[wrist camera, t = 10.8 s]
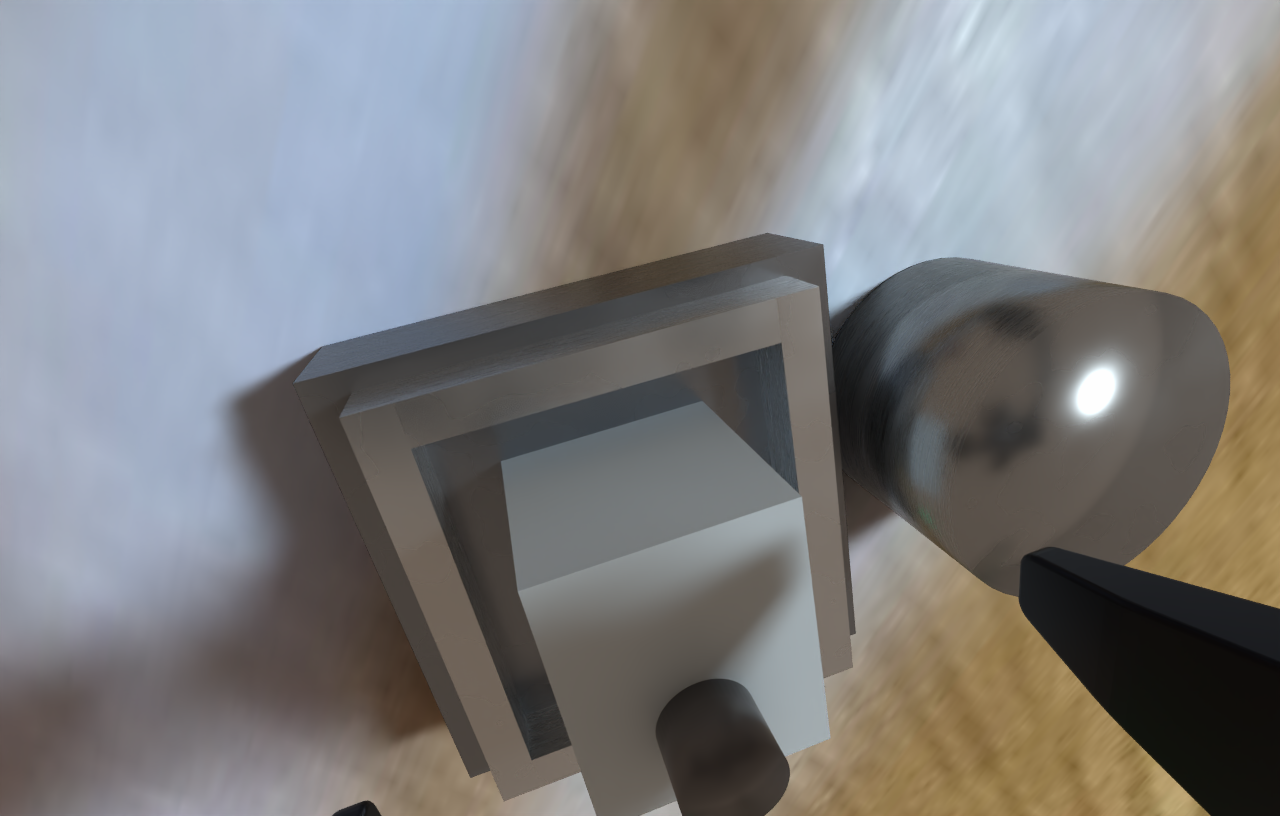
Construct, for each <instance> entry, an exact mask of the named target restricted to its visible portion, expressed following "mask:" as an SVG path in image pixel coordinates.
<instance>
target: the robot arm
mask: <svg viewBox="0 0 1280 816" xmlns="http://www.w3.org/2000/svg"><path fill="white" fill-rule="evenodd" d="M1019 604H1020V607H1021V609H1022V611H1023V613H1024V615H1025V616H1026V618H1027V619H1028V620H1029V621H1030V623H1031V624H1032V625H1033V626H1034V627H1035V629H1036V630H1037V631H1038V632H1039V633H1040V634H1041V636H1042V637H1043V638H1044V639H1045V640H1046V641H1047V643H1048V644H1049V645H1050V646H1051V647H1052V649H1053V650H1054V651H1055V652H1056V653H1057V654H1058V656H1059V657H1060V658H1061V659H1062V660H1063V661H1064V663H1065V664H1066V665H1067V666H1068V667H1069V669H1070V670H1071V671H1072V672H1073V673H1074V674H1075V676H1076V677H1077V678H1078V679H1079V680H1080V681H1081V683H1082V684H1083V685H1084V686H1085V687H1086V689H1087V690H1088V691H1089V692H1090V693H1091V694H1092V696H1093V697H1094V698H1095V699H1096V700H1097V701H1098V702H1099V703H1100V705H1101V706H1102V707H1103V708H1104V709H1105V710H1106V711H1107V712H1108V713H1109V715H1110V716H1111V717H1112V718H1113V719H1114V720H1115V721H1116V722H1117V723H1118V724H1119V725H1120V726H1121V727H1122V728H1123V729H1124V730H1125V731H1126V732H1127V733H1128V734H1129V735H1130V736H1131V737H1132V738H1133V739H1134V740H1135V741H1136V742H1137V743H1138V744H1139V745H1140V746H1141V747H1142V748H1143V749H1144V750H1145V751H1146V752H1147V753H1148V754H1149V755H1150V756H1151V757H1152V758H1153V759H1154V760H1155V761H1156V762H1157V763H1158V764H1159V765H1160V766H1161V767H1162V768H1163V769H1164V770H1165V771H1166V772H1167V773H1168V774H1169V775H1170V776H1171V777H1172V778H1173V779H1174V780H1175V781H1176V782H1177V783H1178V784H1179V785H1180V786H1181V787H1182V788H1183V789H1184V790H1185V791H1186V792H1187V793H1188V794H1189V795H1190V796H1191V797H1192V798H1193V799H1194V800H1195V801H1196V802H1197V803H1198V804H1199V805H1200V806H1201V807H1203V808H1204V809H1205V810H1206V811H1207V812H1208V813H1209V814H1210V815H1211V816H1280V609H1279V608H1275V607H1271V606H1268V605H1264V604H1261V603H1257V602H1253V601H1250V600H1246V599H1242V598H1239V597H1235V596H1232V595H1228V594H1224V593H1221V592H1217V591H1213V590H1210V589H1206V588H1203V587H1199V586H1195V585H1192V584H1188V583H1184V582H1181V581H1177V580H1174V579H1170V578H1166V577H1163V576H1159V575H1155V574H1152V573H1148V572H1145V571H1141V570H1137V569H1134V568H1130V567H1126V566H1123V565H1119V564H1115V563H1112V562H1108V561H1105V560H1101V559H1097V558H1094V557H1090V556H1086V555H1083V554H1079V553H1076V552H1072V551H1068V550H1065V549H1061V548H1057V547H1045V548H1042V549H1039V550H1036V551H1034V552H1031V553H1028V554H1026V555H1025V556H1023V558H1022V559H1021V563H1020V578H1019ZM332 816H381V814H380V813H379V811H378V809H377V808H376V806H375V805H374V804H373V803H372V802H371V801H363V802H360V803H357V804H354V805H352V806H349V807H346V808H344V809H341V810H339V811H337V812H336V813H334V814H333V815H332Z"/></svg>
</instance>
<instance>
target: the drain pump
mask: <svg viewBox="0 0 1280 816" xmlns="http://www.w3.org/2000/svg"><path fill="white" fill-rule="evenodd" d="M501 466H502V474H503V482H504V489H505V497H506V505H507V513H508V520H509V528H510V536H511V543H512V551H513V559H514V567H515V574H516V582H517V590H518V594H519V597H520V599H521V602H522V605H523V608H524V611H525V614H526V616H527V619H528V622H529V625H530V628H531V631H532V634H533V636H534V639H535V642H536V645H537V648H538V651H539V653H540V656H541V659H542V662H543V665H544V668H545V670H546V673H547V676H548V679H549V682H550V685H551V687H552V690H553V693H554V696H555V699H556V702H557V705H558V707H559V710H560V713H561V716H562V719H563V722H564V724H565V727H566V730H567V733H568V736H569V739H570V741H571V744H572V747H573V750H574V753H575V756H576V758H577V761H578V764H579V767H580V770H581V773H582V776H583V778H584V781H585V784H586V787H587V790H588V793H589V795H590V798H591V801H592V804H593V807H594V810H595V812H596V815H597V816H640V815H642V814H645V813H647V812H650V811H652V810H655V809H657V808H659V807H662V806H664V805H667V804H669V803H672V802H674V801H677V802H678V805H679V808H680V810H681V813H682V816H764V815H766V814H767V813H768V812H769V811H770V810H771V809H772V808H773V807H774V806H775V805H776V804H777V803H778V802H779V800H780V799H781V797H782V796H783V794H784V792H785V790H786V788H787V786H788V782H789V777H790V768H789V764H788V762H787V760H786V758H785V757H786V756H788V755H790V754H793V753H795V752H798V751H800V750H803V749H805V748H808V747H810V746H813V745H815V744H818V743H820V742H823V741H825V740H828V739H830V730H829V722H828V713H827V705H826V696H825V688H824V680H823V671H822V663H821V654H820V646H819V637H818V629H817V621H816V612H815V604H814V595H813V587H812V578H811V570H810V562H809V553H808V545H807V536H806V528H805V519H804V511H803V503H802V496H801V495H800V494H799V493H798V492H796V491H795V490H794V489H793V488H792V487H791V486H790V485H789V484H788V483H787V482H786V481H785V480H784V479H783V478H782V477H781V476H780V475H779V474H778V473H777V472H776V471H775V470H774V469H773V468H772V467H771V466H769V465H768V464H767V463H766V462H765V461H764V460H763V459H762V458H761V457H760V456H759V455H758V454H757V453H756V452H755V451H754V450H753V449H752V448H751V447H750V446H749V445H748V444H747V443H746V442H745V441H744V440H742V439H741V438H740V437H739V436H738V435H737V434H736V433H735V432H734V431H733V430H732V429H731V428H730V427H729V426H728V425H727V424H726V423H725V422H724V421H723V420H722V419H721V418H720V417H719V416H718V415H717V414H715V413H714V412H713V411H712V410H711V409H710V408H709V407H708V406H707V405H706V404H705V403H704V402H703V401H700V402H697V403H694V404H690V405H687V406H684V407H680V408H677V409H674V410H670V411H667V412H664V413H660V414H657V415H653V416H650V417H647V418H643V419H640V420H637V421H633V422H630V423H627V424H623V425H620V426H617V427H613V428H610V429H607V430H603V431H600V432H597V433H593V434H590V435H587V436H583V437H580V438H577V439H573V440H570V441H567V442H563V443H560V444H557V445H553V446H550V447H547V448H543V449H540V450H537V451H533V452H530V453H527V454H523V455H520V456H517V457H513V458H510V459H507V460H503V461H501Z"/></svg>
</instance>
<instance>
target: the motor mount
mask: <svg viewBox="0 0 1280 816" xmlns="http://www.w3.org/2000/svg"><path fill="white" fill-rule="evenodd" d="M293 386H294V388H295V390H296V392H297V394H298V397H299V399H300V401H301V403H302V406H303V408H304V410H305V412H306V414H307V417H308V419H309V421H310V423H311V425H312V428H313V430H314V432H315V434H316V437H317V439H318V441H319V443H320V445H321V448H322V450H323V452H324V454H325V457H326V459H327V461H328V463H329V465H330V468H331V470H332V472H333V474H334V476H335V479H336V481H337V483H338V485H339V488H340V490H341V492H342V494H343V496H344V499H345V501H346V503H347V505H348V508H349V510H350V512H351V514H352V516H353V519H354V521H355V523H356V525H357V527H358V530H359V532H360V534H361V536H362V539H363V541H364V543H365V545H366V547H367V550H368V552H369V554H370V556H371V559H372V561H373V563H374V565H375V567H376V570H377V572H378V574H379V576H380V578H381V581H382V583H383V585H384V587H385V590H386V592H387V594H388V596H389V598H390V601H391V603H392V605H393V607H394V610H395V612H396V614H397V616H398V618H399V621H400V623H401V625H402V627H403V629H404V632H405V634H406V636H407V638H408V641H409V643H410V645H411V647H412V649H413V652H414V654H415V656H416V658H417V661H418V663H419V665H420V667H421V669H422V672H423V674H424V676H425V678H426V680H427V683H428V685H429V687H430V689H431V692H432V694H433V696H434V698H435V700H436V703H437V705H438V707H439V709H440V712H441V714H442V716H443V718H444V720H445V723H446V725H447V727H448V729H449V731H450V734H451V736H452V738H453V740H454V743H455V745H456V747H457V749H458V751H459V754H460V756H461V758H462V760H463V763H464V765H465V767H466V769H467V771H468V774H469V776H470V778H472V777H474V776H477V775H480V774H482V773H485V772H488V771H490V770H491V773H492V775H493V777H494V780H495V782H496V784H497V787H498V789H499V791H500V794H501V796H502V798H503V800H504V801H506V800H509V799H511V798H514V797H516V796H519V795H522V794H524V793H527V792H529V791H532V790H535V789H537V788H540V787H542V786H545V785H548V784H550V783H553V782H555V781H558V780H561V779H563V778H566V777H568V776H571V775H574V774H576V773H579V772H581V770H580V767H579V764H578V761H577V758H576V756H575V753H574V750H573V747H572V744H571V741H570V739H569V736H568V733H567V730H566V727H565V724H564V722H563V719H562V716H561V713H560V710H559V707H558V705H557V702H556V699H555V696H554V693H553V690H552V687H551V685H550V682H549V679H548V676H547V673H546V670H545V668H544V665H543V662H542V659H541V656H540V653H539V651H538V648H537V645H536V642H535V639H534V636H533V634H532V631H531V628H530V625H529V622H528V619H527V616H526V614H525V611H524V608H523V605H522V602H521V599H520V597H519V594H518V590H517V582H516V574H515V567H514V559H513V551H512V543H511V536H510V528H509V520H508V513H507V505H506V497H505V489H504V482H503V474H502V466H501V461H503V460H507V459H510V458H513V457H517V456H520V455H523V454H527V453H530V452H533V451H537V450H540V449H543V448H547V447H550V446H553V445H557V444H560V443H563V442H567V441H570V440H573V439H577V438H580V437H583V436H587V435H590V434H593V433H597V432H600V431H603V430H607V429H610V428H613V427H617V426H620V425H623V424H627V423H630V422H633V421H637V420H640V419H643V418H647V417H650V416H653V415H657V414H660V413H664V412H667V411H670V410H674V409H677V408H680V407H684V406H687V405H690V404H694V403H697V402H700V401H703V402H704V403H705V404H706V405H707V406H708V407H709V408H710V409H711V410H712V411H713V412H714V413H715V414H717V415H718V416H719V417H720V418H721V419H722V420H723V421H724V422H725V423H726V424H727V425H728V426H729V427H730V428H731V429H732V430H733V431H734V432H735V433H736V434H737V435H738V436H739V437H740V438H741V439H742V440H744V441H745V442H746V443H747V444H748V445H749V446H750V447H751V448H752V449H753V450H754V451H755V452H756V453H757V454H758V455H759V456H760V457H761V458H762V459H763V460H764V461H765V462H766V463H767V464H768V465H769V466H771V467H772V468H773V469H774V470H775V471H776V472H777V473H778V474H779V475H780V476H781V477H782V478H783V479H784V480H785V481H786V482H787V483H788V484H789V485H790V486H791V487H792V488H793V489H794V490H795V491H796V492H798V493H799V494H800V495H801V496H802V503H803V511H804V519H805V528H806V536H807V545H808V553H809V562H810V570H811V578H812V587H813V595H814V604H815V612H816V621H817V629H818V637H819V646H820V654H821V663H822V671H823V678H826V677H829V676H831V675H834V674H836V673H839V672H842V671H844V670H847V669H849V668H852V667H853V664H852V652H851V641H850V635H853V634H856V631H855V619H854V607H853V595H852V583H851V571H850V559H849V547H848V535H847V523H846V511H845V499H844V487H843V475H842V470H843V471H844V472H845V473H846V474H847V475H848V476H850V477H851V478H852V479H853V480H855V481H856V482H857V483H859V484H860V485H861V486H862V487H864V488H865V489H866V490H867V491H869V492H870V493H871V494H872V495H874V496H875V497H876V498H877V499H879V500H880V501H881V502H883V503H884V504H885V505H886V506H888V507H889V508H890V509H891V510H893V511H894V512H895V513H896V514H898V515H899V516H900V517H901V518H903V519H904V520H905V521H907V522H908V523H909V524H910V525H912V526H913V527H914V528H915V529H917V530H918V531H919V532H920V533H922V534H923V535H924V536H925V537H927V538H928V539H929V540H931V541H932V542H933V543H934V544H936V545H937V546H938V547H939V548H941V549H942V550H943V551H944V552H946V553H947V554H948V555H949V556H951V557H952V558H953V559H955V560H956V561H957V562H958V563H960V564H961V565H962V566H963V567H965V568H966V569H967V570H968V571H970V572H971V573H972V574H973V575H975V576H976V577H977V578H979V579H980V580H981V581H983V582H984V583H986V584H987V585H988V586H990V587H991V588H993V589H996V590H998V591H1000V592H1003V593H1005V594H1009V595H1013V596H1017V597H1019V578H1020V563H1021V559H1022V558H1023V556H1025V555H1026V554H1028V553H1031V552H1034V551H1036V550H1039V549H1042V548H1045V547H1057V548H1061V549H1065V550H1068V551H1072V552H1076V553H1079V554H1083V555H1086V556H1090V557H1094V558H1097V559H1101V560H1105V561H1108V562H1112V563H1115V564H1119V565H1123V566H1124V565H1125V564H1127V563H1128V562H1130V561H1131V560H1132V559H1134V558H1135V557H1136V556H1137V555H1139V554H1140V553H1141V552H1142V551H1143V550H1145V549H1146V548H1147V547H1148V546H1149V545H1150V544H1151V543H1152V542H1153V541H1154V540H1155V539H1156V538H1157V537H1159V536H1160V535H1161V534H1162V532H1163V531H1164V530H1165V529H1166V528H1167V527H1168V526H1169V525H1170V524H1171V522H1172V521H1173V520H1174V519H1175V518H1176V517H1177V515H1178V514H1179V513H1180V511H1181V510H1182V509H1183V507H1184V506H1185V505H1186V504H1187V502H1188V501H1189V499H1190V498H1191V496H1192V495H1193V493H1194V491H1195V490H1196V488H1197V487H1198V485H1199V484H1200V482H1201V480H1202V478H1203V476H1204V474H1205V473H1206V471H1207V469H1208V467H1209V465H1210V463H1211V460H1212V458H1213V456H1214V454H1215V451H1216V449H1217V446H1218V443H1219V440H1220V437H1221V434H1222V432H1223V428H1224V424H1225V420H1226V416H1227V411H1228V404H1229V396H1230V370H1229V362H1228V356H1227V353H1226V349H1225V345H1224V342H1223V340H1222V338H1221V336H1220V334H1219V332H1218V330H1217V328H1216V326H1215V325H1214V324H1213V322H1212V321H1211V320H1210V318H1209V317H1208V316H1207V315H1206V314H1205V313H1204V312H1203V311H1202V310H1201V309H1199V308H1198V307H1197V306H1196V305H1194V304H1192V303H1191V302H1189V301H1187V300H1185V299H1183V298H1181V297H1178V296H1175V295H1171V294H1168V293H1163V292H1158V291H1152V290H1146V289H1140V288H1135V287H1129V286H1123V285H1117V284H1112V283H1106V282H1100V281H1094V280H1089V279H1083V278H1077V277H1072V276H1066V275H1060V274H1054V273H1049V272H1043V271H1037V270H1031V269H1026V268H1020V267H1014V266H1008V265H1003V264H997V263H991V262H985V261H980V260H974V259H967V258H958V257H953V258H939V259H934V260H929V261H925V262H923V263H920V264H917V265H914V266H911V267H909V268H907V269H905V270H903V271H901V272H899V273H897V274H896V275H894V276H893V277H891V278H890V279H888V280H887V281H885V282H884V283H882V284H881V285H880V286H879V287H877V288H876V289H875V290H874V291H873V292H871V293H870V294H869V295H868V296H867V297H866V298H865V299H864V300H863V301H862V302H861V303H860V304H859V306H858V307H857V308H856V309H855V310H854V312H853V313H852V314H851V315H850V317H849V318H848V319H847V321H846V322H845V324H844V325H843V327H842V329H841V330H840V332H839V334H838V335H837V337H836V339H835V341H834V343H833V345H832V344H831V332H830V320H829V308H828V296H827V284H826V272H825V260H824V248H823V244H819V243H814V242H809V241H804V240H799V239H794V238H789V237H784V236H780V235H775V234H770V233H765V234H762V235H758V236H754V237H750V238H746V239H742V240H738V241H734V242H730V243H726V244H722V245H718V246H714V247H711V248H707V249H703V250H699V251H695V252H691V253H687V254H683V255H679V256H675V257H671V258H667V259H664V260H660V261H656V262H652V263H648V264H644V265H640V266H636V267H632V268H628V269H624V270H620V271H616V272H613V273H609V274H605V275H601V276H597V277H593V278H589V279H585V280H581V281H577V282H573V283H569V284H565V285H562V286H558V287H554V288H550V289H546V290H542V291H538V292H534V293H530V294H526V295H522V296H518V297H514V298H511V299H507V300H503V301H499V302H495V303H491V304H487V305H483V306H479V307H475V308H471V309H467V310H463V311H460V312H456V313H452V314H448V315H444V316H440V317H436V318H432V319H428V320H424V321H420V322H416V323H413V324H409V325H405V326H401V327H397V328H393V329H389V330H385V331H381V332H377V333H373V334H369V335H365V336H362V337H358V338H354V339H350V340H346V341H342V342H338V343H334V344H330V345H326V346H322V347H321V349H320V350H319V351H318V352H317V354H316V355H315V356H314V357H313V359H312V360H311V361H310V362H309V364H308V365H307V366H306V367H305V369H304V370H303V371H302V372H301V374H300V375H299V376H298V377H297V379H296V380H295V381H294V382H293Z"/></svg>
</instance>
